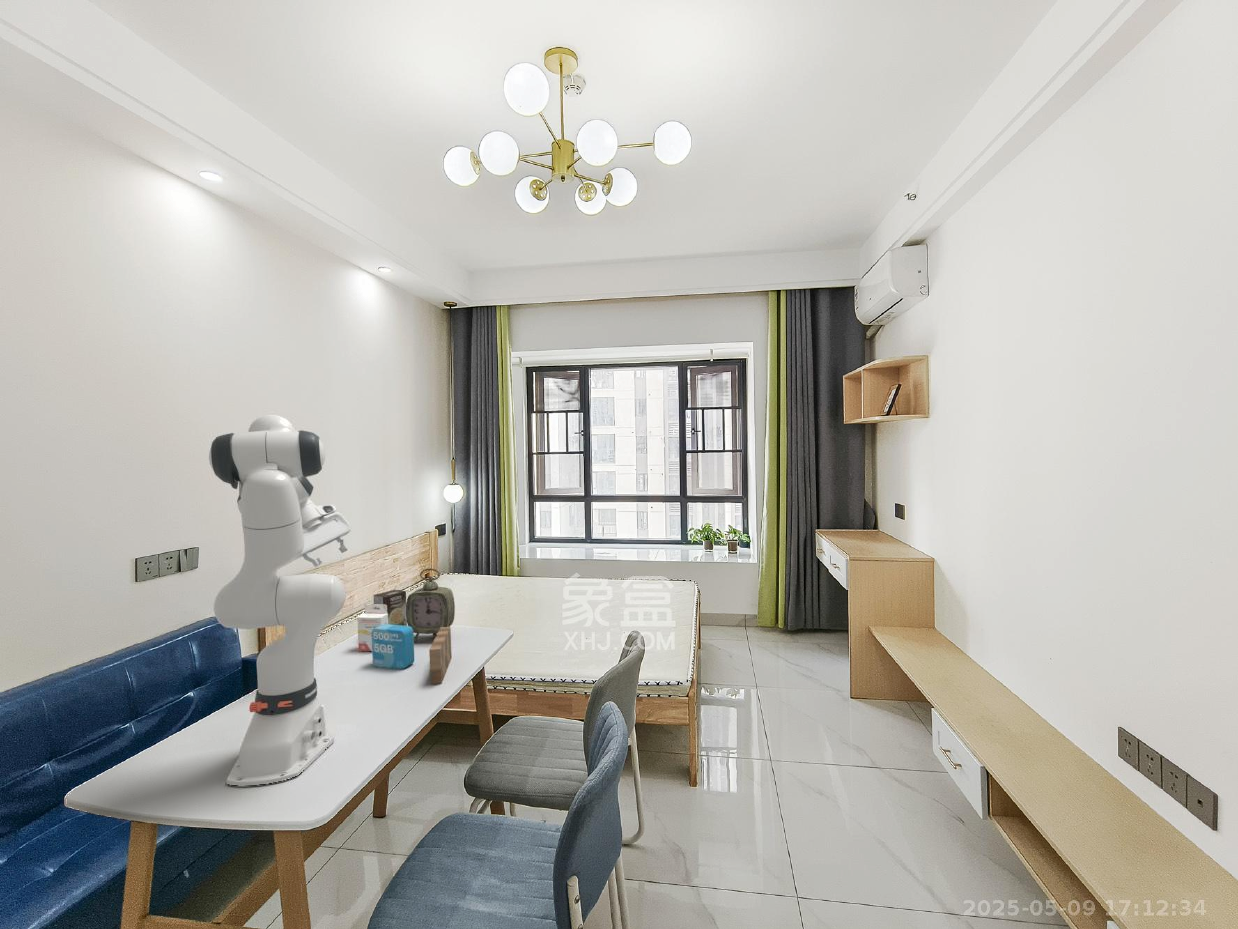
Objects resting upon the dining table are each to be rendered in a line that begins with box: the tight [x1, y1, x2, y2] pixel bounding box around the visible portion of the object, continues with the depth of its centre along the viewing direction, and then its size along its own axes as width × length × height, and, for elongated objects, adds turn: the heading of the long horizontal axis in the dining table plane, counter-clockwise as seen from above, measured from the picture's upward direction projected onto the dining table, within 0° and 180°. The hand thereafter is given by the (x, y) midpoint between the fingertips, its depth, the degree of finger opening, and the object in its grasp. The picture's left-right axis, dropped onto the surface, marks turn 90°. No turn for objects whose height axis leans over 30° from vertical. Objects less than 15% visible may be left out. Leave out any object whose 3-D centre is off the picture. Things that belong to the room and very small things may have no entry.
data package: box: [371, 624, 415, 670], centre depth 178 cm, size 12×4×12 cm, turn 74°
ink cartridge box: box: [357, 603, 388, 652], centre depth 193 cm, size 9×5×15 cm, turn 84°
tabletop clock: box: [406, 567, 456, 643], centre depth 201 cm, size 14×9×25 cm, turn 88°
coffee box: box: [372, 589, 408, 626], centre depth 204 cm, size 9×6×16 cm
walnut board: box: [429, 626, 453, 685], centre depth 173 cm, size 20×3×10 cm, turn 8°
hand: (332, 558), depth 172 cm, fingers open, 8 cm apart
